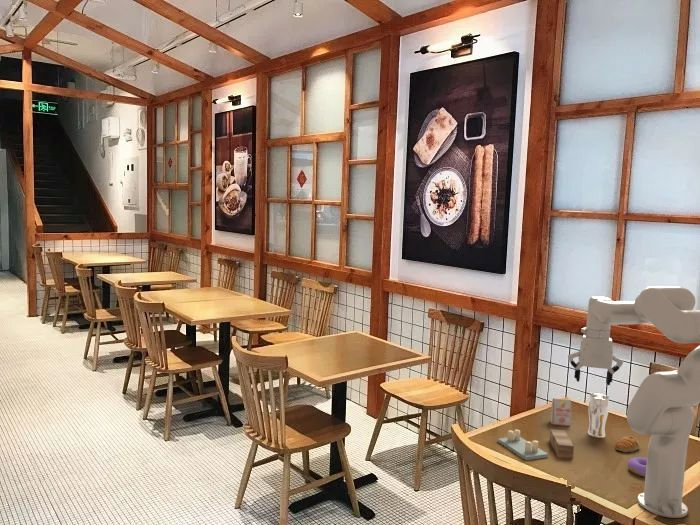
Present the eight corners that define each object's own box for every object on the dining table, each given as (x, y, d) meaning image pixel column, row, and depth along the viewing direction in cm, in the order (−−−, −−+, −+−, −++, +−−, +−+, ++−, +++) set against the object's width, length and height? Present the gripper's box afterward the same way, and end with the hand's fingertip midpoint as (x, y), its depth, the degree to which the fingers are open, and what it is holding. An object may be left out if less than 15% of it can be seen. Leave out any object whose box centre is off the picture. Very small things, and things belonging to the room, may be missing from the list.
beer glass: (585, 435, 213) (588, 397, 212) (587, 429, 220) (590, 392, 218) (605, 439, 210) (608, 400, 209) (607, 433, 216) (610, 395, 215)
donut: (630, 461, 192) (635, 448, 191) (660, 475, 186) (664, 462, 185) (622, 471, 184) (627, 458, 183) (653, 486, 179) (658, 473, 177)
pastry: (628, 455, 197) (629, 445, 197) (609, 449, 203) (610, 438, 202) (640, 449, 203) (641, 438, 203) (621, 443, 209) (622, 432, 208)
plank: (572, 458, 194) (573, 446, 193) (557, 457, 194) (558, 444, 194) (563, 442, 207) (564, 430, 207) (549, 441, 208) (550, 429, 208)
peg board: (547, 457, 193) (548, 444, 193) (525, 460, 190) (526, 447, 190) (518, 439, 208) (519, 426, 208) (497, 441, 205) (498, 429, 205)
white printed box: (550, 421, 228) (552, 396, 227) (568, 422, 227) (569, 398, 226) (552, 424, 224) (553, 399, 223) (570, 426, 223) (571, 401, 222)
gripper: (571, 333, 190) (566, 382, 192) (628, 338, 186) (622, 389, 188) (569, 328, 197) (564, 375, 199) (623, 333, 193) (617, 381, 195)
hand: (592, 382), depth 194 cm, fingers open, 9 cm apart
